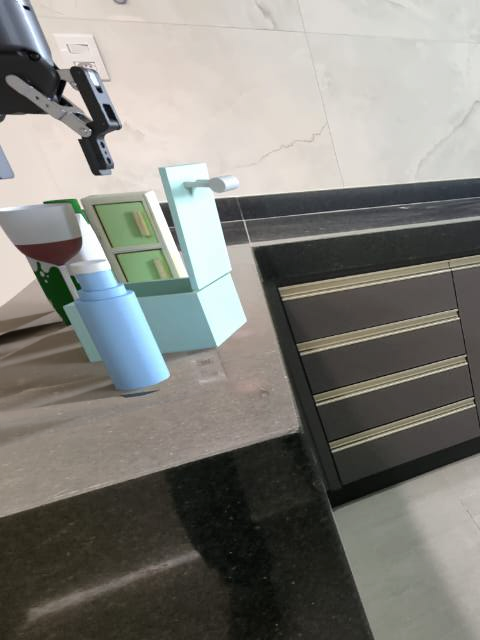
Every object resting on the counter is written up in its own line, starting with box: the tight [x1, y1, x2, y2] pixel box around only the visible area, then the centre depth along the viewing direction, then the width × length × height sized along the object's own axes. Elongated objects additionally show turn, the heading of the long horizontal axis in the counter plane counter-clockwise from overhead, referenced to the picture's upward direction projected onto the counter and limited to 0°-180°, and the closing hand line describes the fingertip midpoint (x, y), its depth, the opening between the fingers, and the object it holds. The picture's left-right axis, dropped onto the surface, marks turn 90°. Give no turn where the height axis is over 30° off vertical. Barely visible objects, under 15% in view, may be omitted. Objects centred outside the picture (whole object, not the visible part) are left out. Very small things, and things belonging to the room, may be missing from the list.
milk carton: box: [25, 198, 118, 327], centre depth 89 cm, size 9×9×20 cm
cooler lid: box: [157, 162, 240, 290], centre depth 76 cm, size 16×12×6 cm
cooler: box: [63, 272, 248, 363], centre depth 78 cm, size 15×12×9 cm
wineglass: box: [0, 203, 82, 300], centre depth 83 cm, size 8×9×20 cm
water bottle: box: [70, 259, 171, 398], centre depth 63 cm, size 5×5×16 cm
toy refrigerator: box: [79, 190, 189, 283], centre depth 87 cm, size 8×7×21 cm
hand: (55, 177), depth 57 cm, fingers open, 8 cm apart
